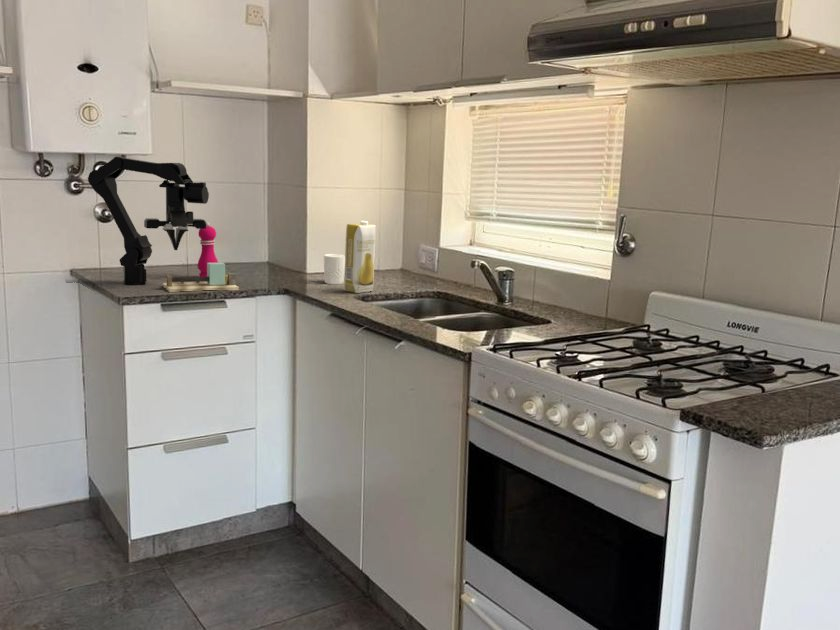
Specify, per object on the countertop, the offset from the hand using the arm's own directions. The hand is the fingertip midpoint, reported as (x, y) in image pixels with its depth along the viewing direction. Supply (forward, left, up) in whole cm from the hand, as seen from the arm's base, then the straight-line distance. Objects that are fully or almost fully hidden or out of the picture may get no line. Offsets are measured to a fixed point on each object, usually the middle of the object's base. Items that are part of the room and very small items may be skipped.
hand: (175, 250), depth 259 cm
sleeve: (+12, -5, -11) cm, 17 cm away
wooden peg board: (+7, -5, -12) cm, 15 cm away
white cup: (+55, -2, -12) cm, 56 cm away
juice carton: (+57, -20, -12) cm, 62 cm away
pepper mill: (+14, +15, -12) cm, 24 cm away
